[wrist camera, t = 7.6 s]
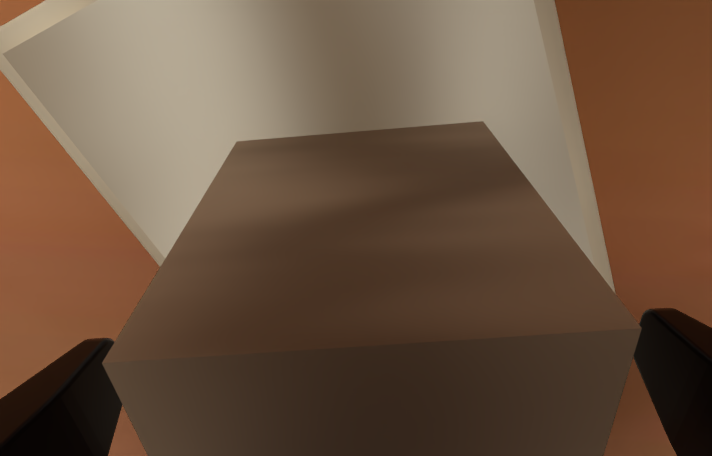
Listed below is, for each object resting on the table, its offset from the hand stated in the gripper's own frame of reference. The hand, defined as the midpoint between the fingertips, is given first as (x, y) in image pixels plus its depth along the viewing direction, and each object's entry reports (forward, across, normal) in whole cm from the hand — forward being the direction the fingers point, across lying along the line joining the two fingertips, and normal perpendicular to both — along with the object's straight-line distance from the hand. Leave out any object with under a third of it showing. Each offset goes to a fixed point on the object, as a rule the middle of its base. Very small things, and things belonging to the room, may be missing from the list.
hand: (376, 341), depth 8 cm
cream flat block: (+7, 0, 0) cm, 7 cm away
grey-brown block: (+3, 0, 0) cm, 3 cm away
